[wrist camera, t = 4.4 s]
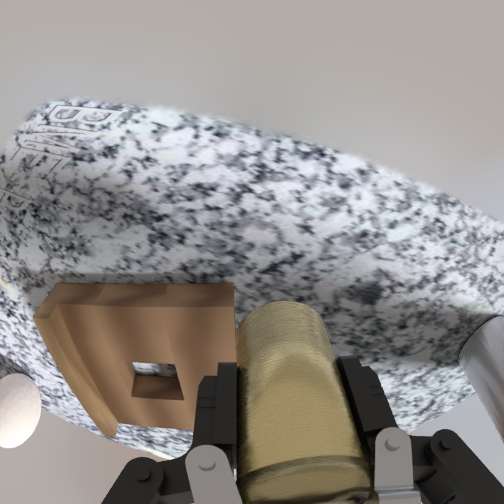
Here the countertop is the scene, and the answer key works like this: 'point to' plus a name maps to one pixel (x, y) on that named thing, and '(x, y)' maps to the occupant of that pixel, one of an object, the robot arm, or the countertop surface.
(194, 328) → the jig
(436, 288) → the countertop surface
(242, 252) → the countertop surface
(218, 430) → the robot arm
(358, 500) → the brass cylinder peg
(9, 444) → the egg
